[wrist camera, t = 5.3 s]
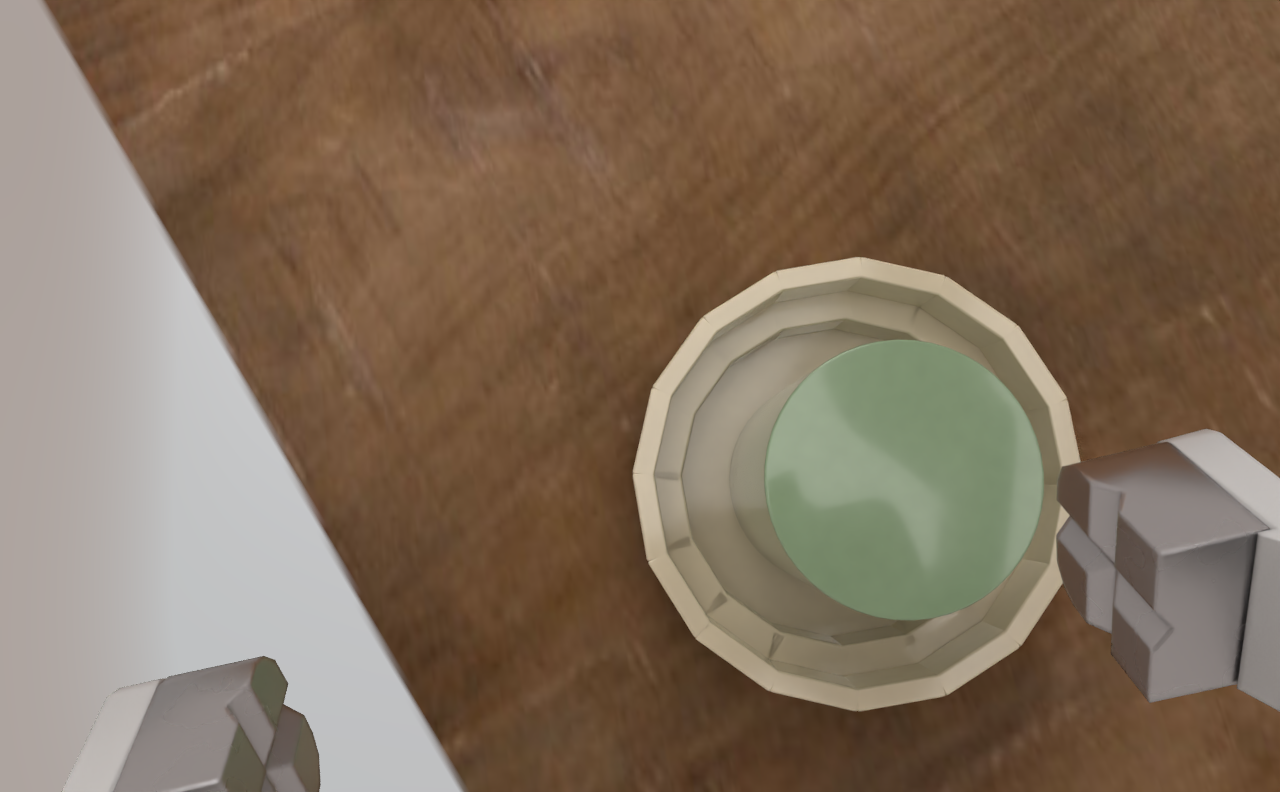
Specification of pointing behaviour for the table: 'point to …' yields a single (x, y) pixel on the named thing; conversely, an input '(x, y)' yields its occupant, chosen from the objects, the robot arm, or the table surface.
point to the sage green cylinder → (891, 480)
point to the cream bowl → (747, 582)
